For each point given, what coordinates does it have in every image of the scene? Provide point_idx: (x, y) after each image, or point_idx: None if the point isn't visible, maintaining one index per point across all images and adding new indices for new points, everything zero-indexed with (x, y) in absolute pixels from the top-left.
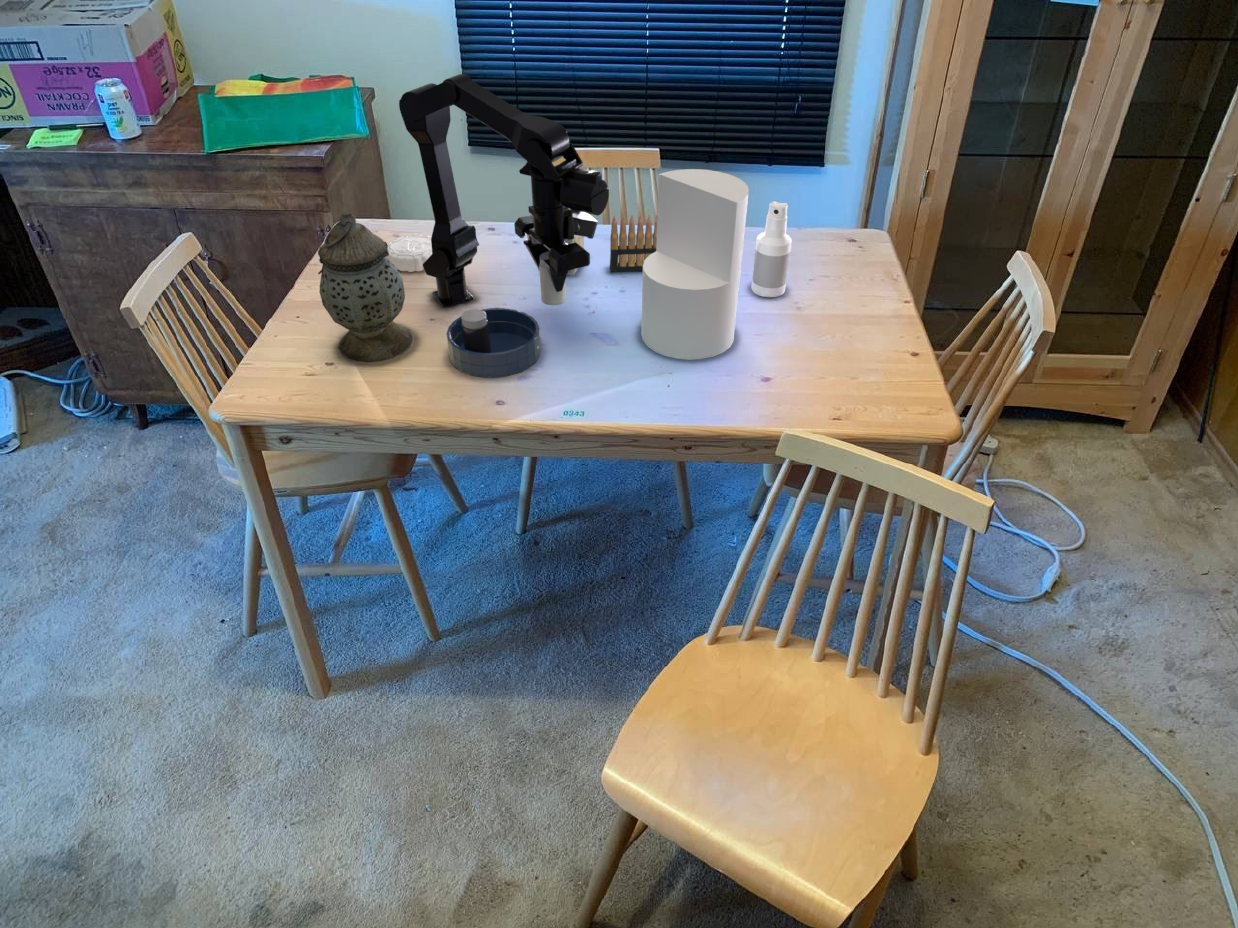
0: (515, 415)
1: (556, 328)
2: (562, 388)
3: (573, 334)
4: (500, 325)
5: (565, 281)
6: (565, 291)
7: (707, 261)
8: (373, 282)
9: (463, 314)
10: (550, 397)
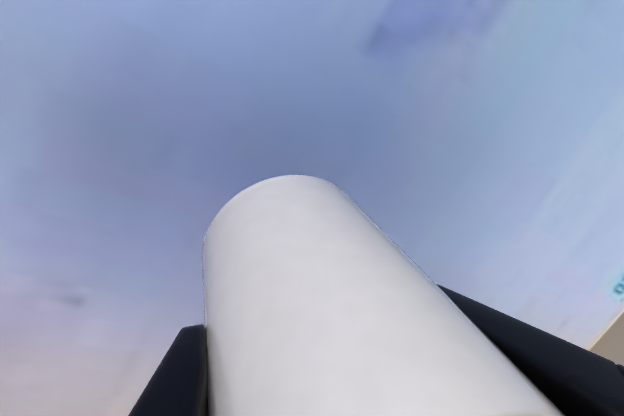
0: None
1: (253, 171)
2: (555, 269)
3: (335, 124)
4: None
5: (401, 255)
6: (371, 219)
7: None
8: None
9: None
10: (559, 303)
